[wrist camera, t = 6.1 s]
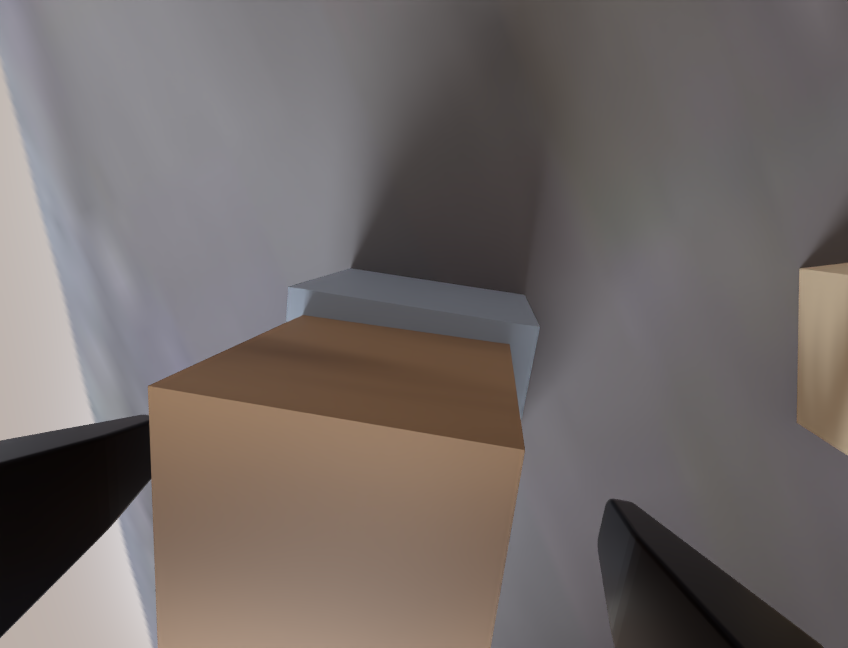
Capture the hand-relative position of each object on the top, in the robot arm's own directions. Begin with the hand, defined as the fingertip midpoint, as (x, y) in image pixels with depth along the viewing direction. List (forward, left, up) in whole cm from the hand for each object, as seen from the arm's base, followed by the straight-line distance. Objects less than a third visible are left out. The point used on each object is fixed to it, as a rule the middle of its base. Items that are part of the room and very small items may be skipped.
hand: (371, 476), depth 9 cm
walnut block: (0, 0, -2) cm, 2 cm away
